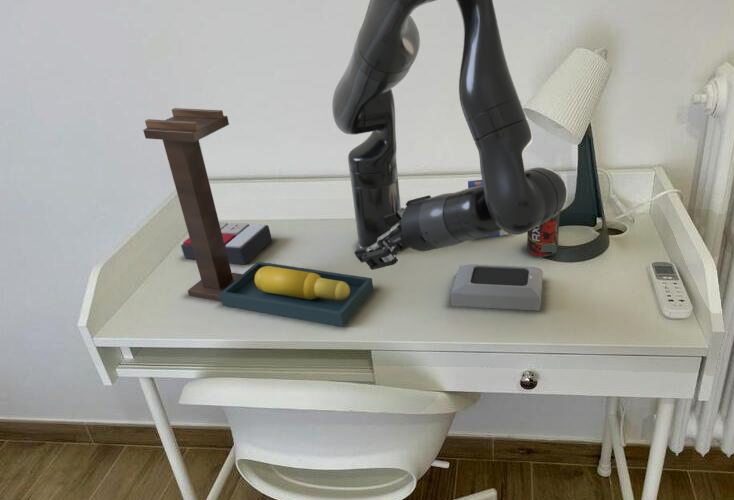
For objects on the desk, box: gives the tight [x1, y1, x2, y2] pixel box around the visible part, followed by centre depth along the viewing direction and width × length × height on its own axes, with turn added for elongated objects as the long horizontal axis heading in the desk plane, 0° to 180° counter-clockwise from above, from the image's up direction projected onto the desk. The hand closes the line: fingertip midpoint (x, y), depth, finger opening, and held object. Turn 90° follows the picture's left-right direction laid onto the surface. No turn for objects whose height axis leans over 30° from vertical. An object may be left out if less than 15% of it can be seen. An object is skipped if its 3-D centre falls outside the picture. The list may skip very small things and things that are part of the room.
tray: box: [220, 261, 374, 328], centre depth 116 cm, size 12×25×3 cm, turn 68°
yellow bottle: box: [254, 266, 350, 301], centre depth 114 cm, size 19×5×5 cm, turn 67°
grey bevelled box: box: [450, 263, 544, 312], centre depth 112 cm, size 10×4×15 cm
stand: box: [142, 107, 243, 302], centre depth 113 cm, size 9×11×33 cm
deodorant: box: [526, 173, 562, 258], centre depth 121 cm, size 6×6×15 cm
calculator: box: [180, 221, 273, 265], centre depth 134 cm, size 11×4×15 cm
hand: (373, 238), depth 105 cm, fingers open, 8 cm apart
